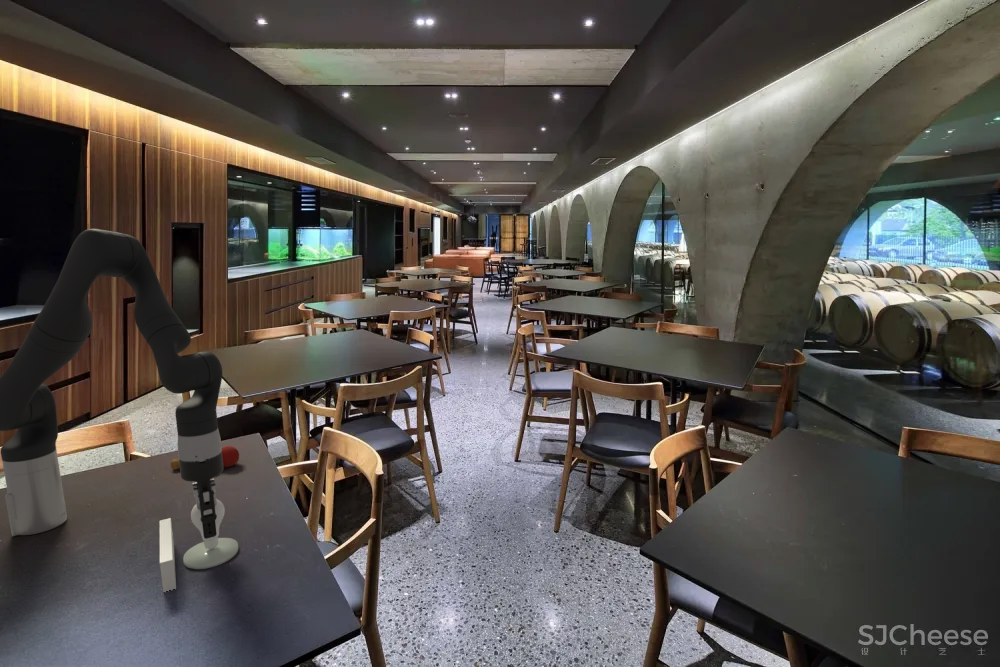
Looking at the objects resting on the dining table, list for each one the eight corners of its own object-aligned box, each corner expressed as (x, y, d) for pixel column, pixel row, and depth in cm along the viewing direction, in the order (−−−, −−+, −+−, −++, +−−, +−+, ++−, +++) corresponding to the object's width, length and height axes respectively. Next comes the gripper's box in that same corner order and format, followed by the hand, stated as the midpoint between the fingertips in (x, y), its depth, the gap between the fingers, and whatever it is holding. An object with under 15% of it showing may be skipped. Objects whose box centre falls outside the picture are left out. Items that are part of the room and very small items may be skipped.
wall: (163, 592, 98) (159, 563, 97) (162, 546, 113) (159, 520, 112) (176, 589, 99) (172, 559, 98) (173, 543, 114) (170, 517, 113)
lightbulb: (219, 557, 107) (213, 506, 105) (188, 557, 107) (182, 507, 105) (233, 540, 113) (228, 492, 111) (205, 540, 113) (199, 492, 111)
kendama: (167, 480, 148) (234, 468, 150) (164, 458, 148) (230, 445, 150) (181, 473, 155) (244, 461, 157) (177, 452, 155) (241, 440, 157)
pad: (184, 575, 103) (184, 571, 103) (182, 550, 111) (182, 547, 111) (241, 558, 108) (241, 555, 108) (235, 536, 116) (235, 533, 116)
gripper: (177, 445, 110) (186, 517, 112) (179, 469, 98) (189, 549, 101) (218, 437, 114) (225, 508, 116) (225, 460, 102) (233, 537, 105)
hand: (208, 527), depth 109 cm, fingers open, 8 cm apart
